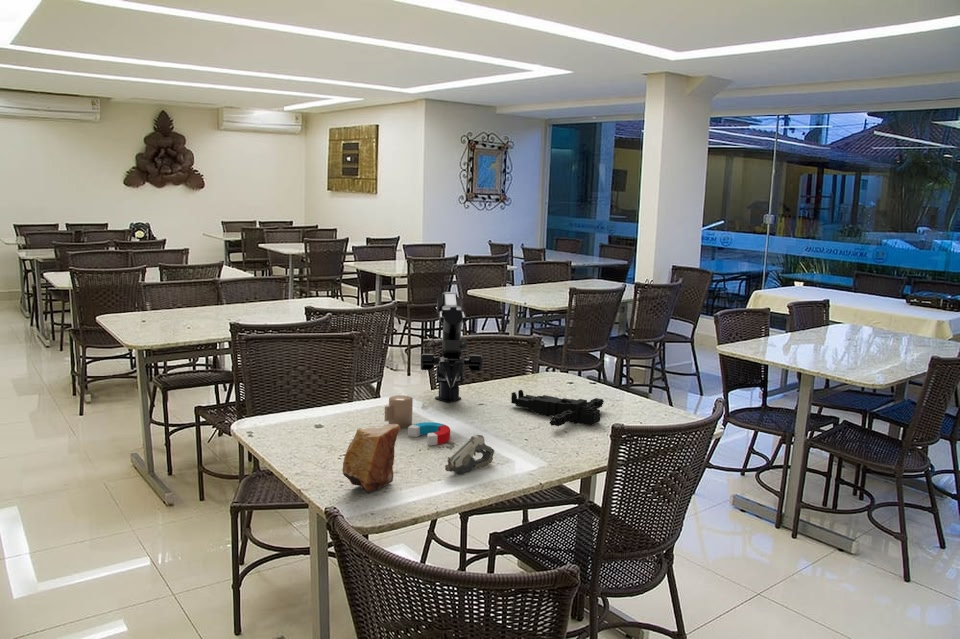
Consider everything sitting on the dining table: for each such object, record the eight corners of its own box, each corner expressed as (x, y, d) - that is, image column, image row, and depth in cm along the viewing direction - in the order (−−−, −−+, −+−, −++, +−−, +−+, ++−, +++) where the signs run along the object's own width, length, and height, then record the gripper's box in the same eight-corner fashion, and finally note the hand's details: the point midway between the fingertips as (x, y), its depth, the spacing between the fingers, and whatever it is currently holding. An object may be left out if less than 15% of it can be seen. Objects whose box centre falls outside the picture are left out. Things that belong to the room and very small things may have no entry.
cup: (377, 425, 216) (378, 399, 215) (401, 419, 223) (401, 393, 221) (393, 431, 212) (393, 405, 210) (416, 424, 218) (417, 399, 217)
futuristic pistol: (452, 491, 184) (440, 462, 180) (490, 454, 192) (480, 425, 188) (459, 494, 183) (447, 465, 178) (497, 457, 191) (486, 427, 186)
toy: (541, 380, 253) (620, 394, 235) (541, 398, 254) (619, 414, 236) (488, 399, 228) (571, 416, 210) (488, 419, 229) (571, 438, 211)
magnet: (432, 428, 215) (405, 435, 209) (433, 419, 215) (405, 425, 208) (458, 439, 207) (430, 446, 200) (458, 430, 206) (431, 437, 200)
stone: (387, 474, 181) (387, 416, 178) (407, 486, 174) (408, 426, 171) (335, 488, 172) (335, 427, 169) (354, 501, 165) (355, 438, 162)
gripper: (421, 327, 220) (419, 372, 211) (483, 329, 221) (484, 374, 212) (421, 347, 229) (420, 391, 221) (481, 348, 230) (481, 392, 222)
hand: (451, 386), depth 219 cm, fingers closed
